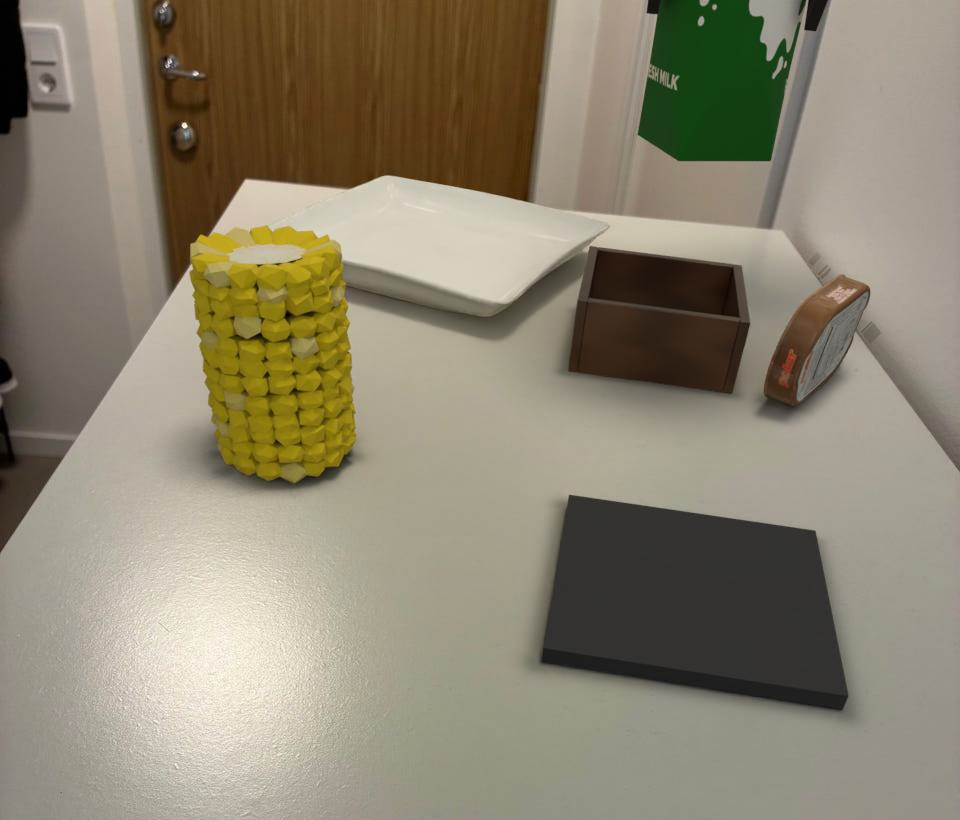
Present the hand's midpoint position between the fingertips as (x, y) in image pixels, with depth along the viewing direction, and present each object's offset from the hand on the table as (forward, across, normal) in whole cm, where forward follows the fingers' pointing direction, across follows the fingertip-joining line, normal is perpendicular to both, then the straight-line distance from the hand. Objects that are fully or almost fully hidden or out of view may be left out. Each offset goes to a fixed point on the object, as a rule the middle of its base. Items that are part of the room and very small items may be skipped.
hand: (734, 6), depth 61 cm
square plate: (+2, +23, -36) cm, 43 cm away
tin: (+14, -12, -24) cm, 30 cm away
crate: (+12, +1, -26) cm, 29 cm away
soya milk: (+4, 0, -9) cm, 10 cm away
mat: (+37, -3, -1) cm, 37 cm away
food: (+30, +25, -8) cm, 40 cm away
